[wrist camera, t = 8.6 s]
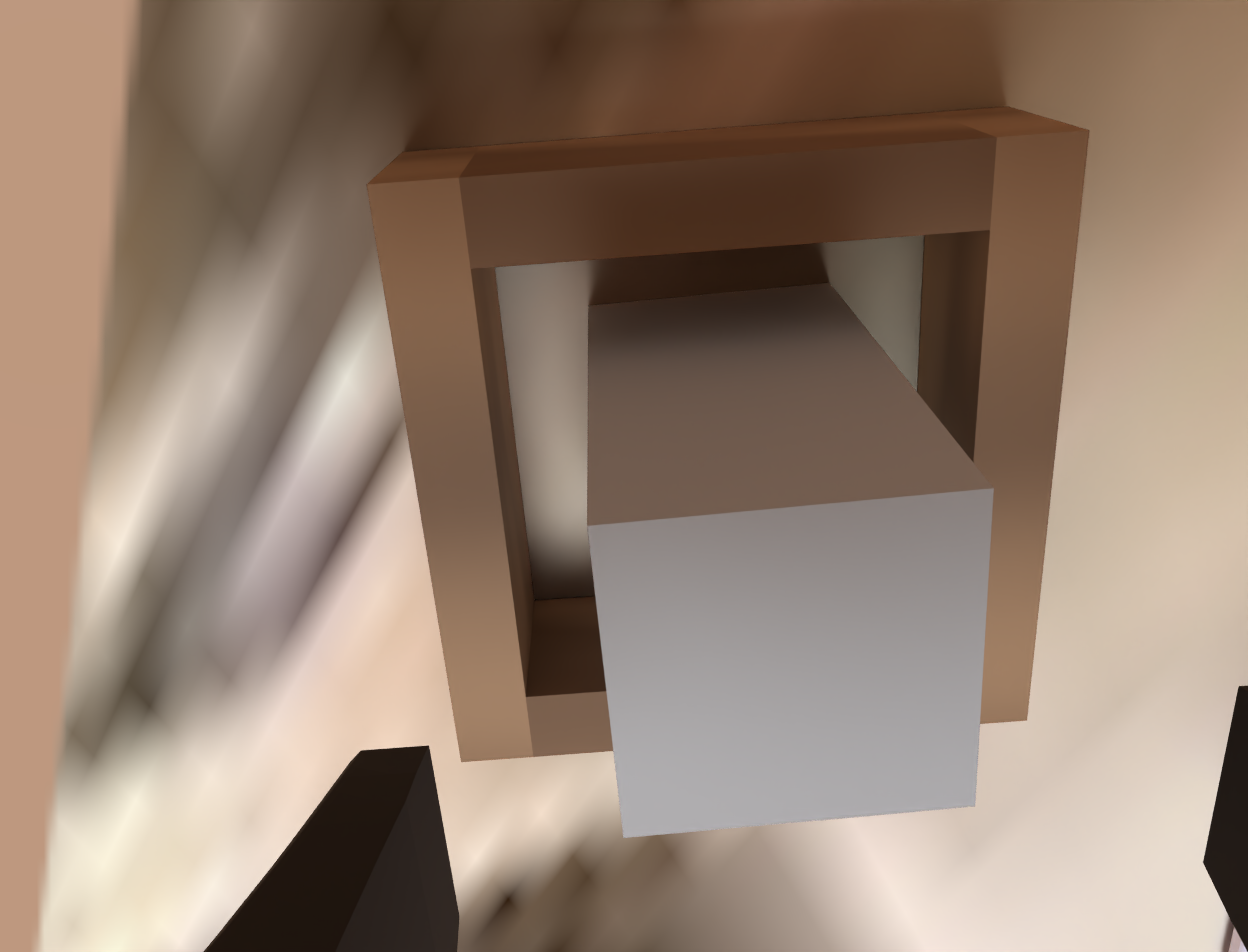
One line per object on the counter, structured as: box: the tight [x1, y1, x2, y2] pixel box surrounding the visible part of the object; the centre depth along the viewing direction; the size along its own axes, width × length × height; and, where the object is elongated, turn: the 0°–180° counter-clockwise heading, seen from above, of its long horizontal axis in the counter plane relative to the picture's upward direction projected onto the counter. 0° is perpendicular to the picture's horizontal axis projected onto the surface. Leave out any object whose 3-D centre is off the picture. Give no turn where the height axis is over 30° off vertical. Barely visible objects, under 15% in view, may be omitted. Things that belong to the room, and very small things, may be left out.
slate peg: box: [587, 283, 994, 838], centre depth 15 cm, size 4×4×8 cm
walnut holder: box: [367, 107, 1089, 762], centre depth 17 cm, size 9×9×3 cm
